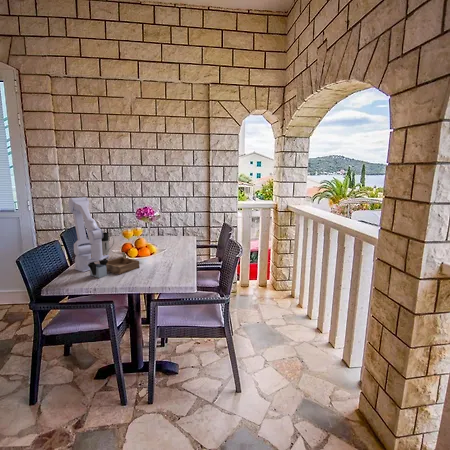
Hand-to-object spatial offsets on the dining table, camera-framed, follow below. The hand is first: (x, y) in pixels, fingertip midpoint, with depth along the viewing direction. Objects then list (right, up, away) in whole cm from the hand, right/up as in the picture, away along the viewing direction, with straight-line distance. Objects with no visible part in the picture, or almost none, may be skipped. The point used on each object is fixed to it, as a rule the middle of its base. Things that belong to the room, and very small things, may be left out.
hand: (98, 273), depth 168 cm
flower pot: (+7, +4, +32) cm, 33 cm away
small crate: (0, -1, 0) cm, 1 cm away
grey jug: (-14, +7, +46) cm, 49 cm away
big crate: (+9, +1, +12) cm, 15 cm away
